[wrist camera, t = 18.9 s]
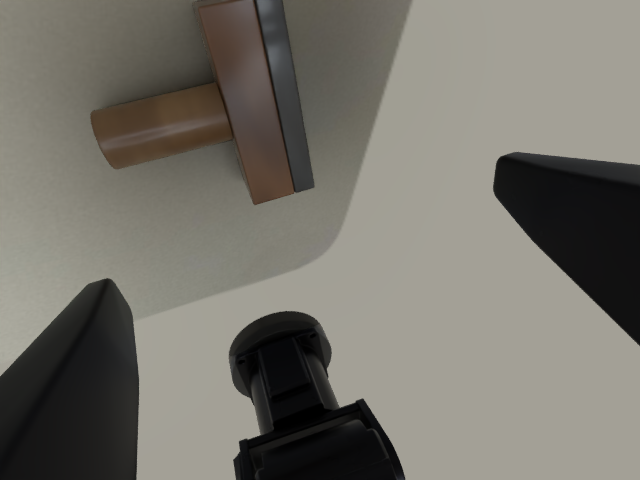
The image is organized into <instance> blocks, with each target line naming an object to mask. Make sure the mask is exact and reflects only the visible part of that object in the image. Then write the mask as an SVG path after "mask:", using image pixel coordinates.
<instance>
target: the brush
mask: <svg viewBox="0 0 640 480" xmlns="http://www.w3.org/2000/svg"><path fill="white" fill-rule="evenodd" d="M193 8H194V11H195V15H196V18H197V22H198V25H199V28H200V32H201V35H202V39H203V42H204V46H205V49H206V52H207V56H208V59H209V63H210V66H211V70H212V73H213V76H214V80H215V82H214V83H210V84H205V85H201V86H197V87H193V88H188V89H184V90H180V91H175V92H171V93H167V94H163V95H158V96H154V97H150V98H145V99H141V100H137V101H133V102H128V103H124V104H120V105H115V106H111V107H107V108H103V109H98V110H94V111H92V112H91V124H92V128H93V132H94V135H95V137H96V140H97V142H98V145H99V147H100V149H101V151H102V153H103V155H104V156H105V158H106V160H107V161H108V163H109V164H110V165H111V166H112V167H113V168H114V169H117V170H118V169H122V168H125V167H129V166H133V165H137V164H141V163H145V162H148V161H152V160H156V159H160V158H164V157H168V156H171V155H175V154H179V153H183V152H187V151H190V150H194V149H198V148H202V147H206V146H210V145H213V144H217V143H221V142H225V141H229V140H232V141H233V145H234V148H235V152H236V155H237V158H238V162H239V165H240V169H241V172H242V176H243V179H244V181H245V184H246V186H247V189H248V191H249V194H250V196H251V199H252V201H253V204H254V205H257V204H260V203H263V202H267V201H270V200H274V199H277V198H280V197H284V196H287V195H291V194H294V192H296V193H297V192H301V191H304V190H308V189H311V188H314V186H315V185H314V179H313V173H312V168H311V162H310V156H309V150H308V145H307V139H306V133H305V127H304V122H303V116H302V110H301V104H300V99H299V93H298V87H297V81H296V76H295V70H294V64H293V58H292V53H291V47H290V41H289V35H288V30H287V24H286V18H285V12H284V6H283V1H282V0H202V1H197V2H194V3H193Z"/></svg>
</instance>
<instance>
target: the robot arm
mask: <svg viewBox="0 0 640 480" xmlns="http://www.w3.org/2000/svg"><path fill="white" fill-rule="evenodd" d="M493 191H494V194H495V196H496V198H497V199H498V200H499V201H500V203H501V204H502V205H503V206H504V207H505V209H506V210H507V211H508V212H509V213H510V215H511V216H512V217H513V218H514V219H515V221H516V222H517V223H518V224H519V225H520V227H521V228H522V229H523V230H524V231H525V233H526V234H527V235H528V236H529V237H530V238H531V240H532V241H533V242H534V243H535V244H536V245H537V246H538V247H539V248H540V249H541V250H542V251H543V252H544V253H545V254H546V255H547V256H548V257H549V258H551V260H552V261H553V262H554V263H556V264H557V265H558V266H559V267H560V268H561V269H562V270H563V271H564V272H565V273H566V274H567V275H568V276H569V277H570V278H571V279H572V280H573V281H574V282H575V283H576V284H577V285H578V286H579V287H580V288H581V289H582V290H583V291H584V292H585V293H586V294H587V295H588V296H589V297H590V298H591V299H593V301H594V302H595V303H597V305H599V306H600V307H601V308H602V309H603V310H604V311H605V312H606V313H607V314H608V315H609V316H610V317H611V318H612V319H613V320H614V321H615V322H616V323H617V324H618V325H619V326H620V327H621V328H622V329H623V330H624V331H625V332H626V333H627V334H628V335H629V336H630V337H631V338H632V339H633V340H634V341H635V342H636V343H637V344H638V345H639V346H640V165H635V164H625V163H616V162H606V161H596V160H587V159H578V158H568V157H559V156H549V155H540V154H530V153H521V152H514V153H510V154H507V155H504V156H501V157H500V158H499V159H498V161H497V163H496V170H495V177H494V185H493ZM133 326H134V325H133V316H132V312H131V309H130V307H129V305H128V303H127V302H126V300H125V299H124V297H123V295H122V294H121V292H120V291H119V289H118V287H117V286H116V284H115V283H114V282H113V281H112V280H111V279H109V278H106V279H102V280H99V281H96V282H93V283H90V284H88V285H87V286H86V287H85V288H84V289H83V290H82V291H81V292H80V293H79V294H78V295H77V296H76V297H75V298H74V299H73V300H72V301H71V302H70V303H69V305H68V306H67V307H66V308H65V309H64V310H63V311H62V312H61V313H60V314H59V315H58V316H57V317H56V318H55V319H54V320H53V321H52V322H51V324H50V325H49V326H48V327H47V328H46V329H45V330H44V331H43V332H42V333H41V334H40V335H39V336H38V337H37V338H36V339H35V340H34V341H33V343H32V344H31V345H30V346H29V347H28V348H27V349H26V350H25V351H24V352H23V353H22V354H21V355H20V356H19V357H18V358H17V359H16V361H15V362H14V363H13V364H12V365H11V366H10V367H9V368H8V369H7V370H6V371H5V372H4V373H3V374H2V375H1V376H0V480H136V472H137V440H138V405H139V375H138V364H137V354H136V345H135V336H134V327H133ZM234 360H235V365H236V367H237V369H238V372H239V374H240V376H241V378H242V380H243V383H244V385H245V387H246V389H247V392H248V394H249V396H250V398H251V400H252V403H253V405H254V406H255V410H256V415H257V420H258V425H259V429H260V434H261V435H260V436H257V437H255V438H251V439H244V440H241V441H239V446H240V452H239V454H238V456H237V457H236V458H235V459H234V460H233V461H234V467H235V475H236V480H405V476H404V472H403V469H402V466H401V463H400V461H399V458H398V456H397V454H396V451H395V449H394V447H393V445H392V443H391V441H390V440H389V438H388V436H387V435H386V433H385V432H384V430H383V429H382V427H381V425H380V424H379V423H378V421H377V419H376V418H375V416H374V415H373V413H372V412H371V410H370V408H369V407H368V405H367V404H366V402H365V401H364V399H360V400H357V401H356V402H355V403H353V404H350V405H347V406H344V407H341V408H340V407H339V405H338V402H337V400H336V398H335V395H334V393H333V390H332V388H331V385H330V383H329V381H328V373H327V368H326V364H325V359H324V355H323V350H322V346H321V342H320V337H319V333H318V331H317V329H316V328H314V327H312V328H308V329H305V330H303V331H300V332H297V333H294V334H292V335H289V336H286V337H283V338H281V339H278V340H275V341H272V342H269V343H267V344H264V345H261V346H258V347H256V348H253V349H250V350H247V351H245V352H242V353H239V354H237V355H236V356H235V358H234Z"/></svg>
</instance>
